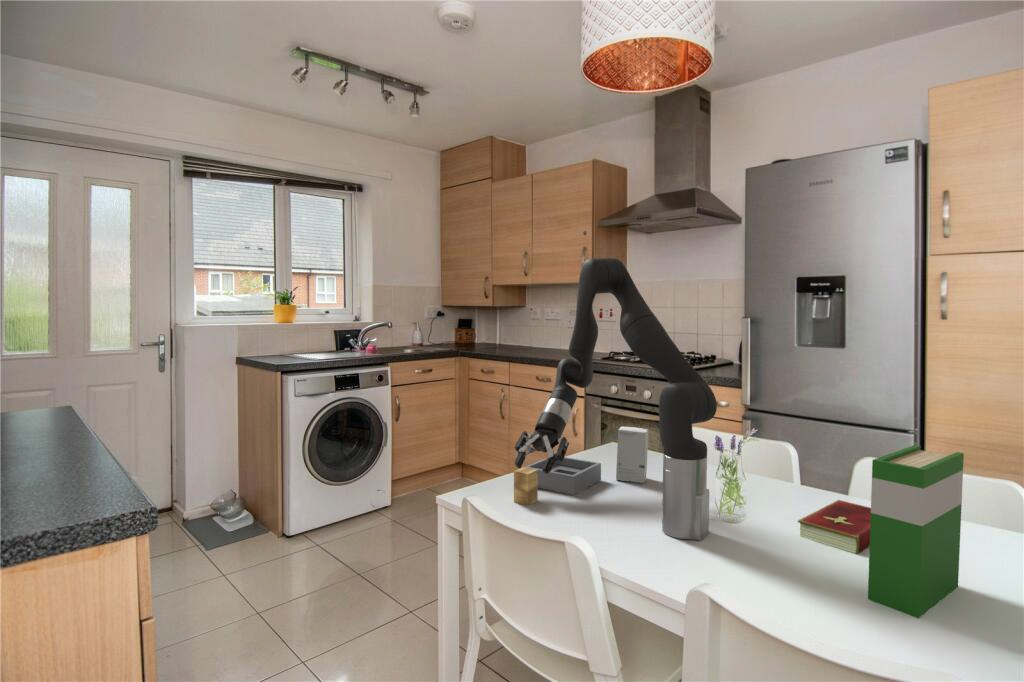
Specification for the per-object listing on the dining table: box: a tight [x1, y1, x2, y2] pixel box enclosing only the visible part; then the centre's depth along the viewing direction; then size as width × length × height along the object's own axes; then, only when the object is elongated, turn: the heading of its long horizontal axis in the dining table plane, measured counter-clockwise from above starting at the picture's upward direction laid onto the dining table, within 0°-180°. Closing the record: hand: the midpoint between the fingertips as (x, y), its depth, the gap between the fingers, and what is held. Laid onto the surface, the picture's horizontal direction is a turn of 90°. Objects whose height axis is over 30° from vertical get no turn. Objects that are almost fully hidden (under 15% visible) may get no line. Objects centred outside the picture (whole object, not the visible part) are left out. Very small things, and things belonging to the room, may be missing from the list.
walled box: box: [524, 456, 602, 496], centre depth 162 cm, size 16×16×5 cm
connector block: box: [513, 466, 539, 506], centre depth 146 cm, size 4×4×8 cm
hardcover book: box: [797, 499, 871, 555], centre depth 125 cm, size 12×21×4 cm, turn 129°
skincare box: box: [615, 425, 650, 484], centre depth 164 cm, size 8×6×15 cm
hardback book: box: [867, 444, 965, 619], centre depth 98 cm, size 18×7×24 cm, turn 126°
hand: (530, 469), depth 148 cm, fingers open, 8 cm apart
